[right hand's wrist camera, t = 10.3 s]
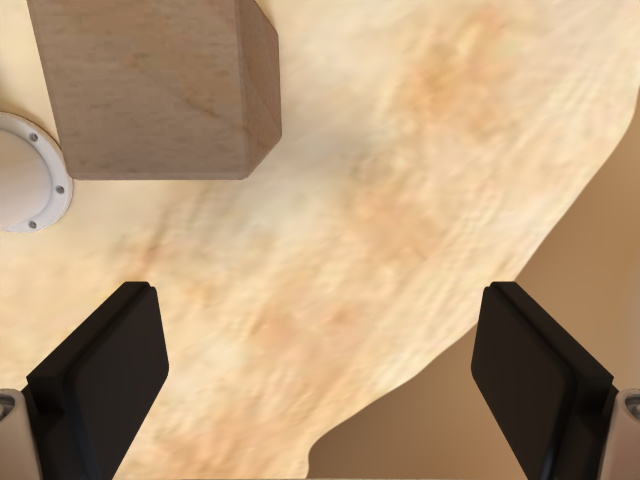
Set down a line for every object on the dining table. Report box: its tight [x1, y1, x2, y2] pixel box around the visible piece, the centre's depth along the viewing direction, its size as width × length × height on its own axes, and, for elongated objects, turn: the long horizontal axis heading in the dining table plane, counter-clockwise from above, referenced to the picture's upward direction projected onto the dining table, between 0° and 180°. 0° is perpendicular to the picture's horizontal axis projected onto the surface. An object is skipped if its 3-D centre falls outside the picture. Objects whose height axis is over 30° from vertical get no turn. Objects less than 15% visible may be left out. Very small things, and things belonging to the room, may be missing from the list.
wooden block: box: [27, 0, 282, 180], centre depth 29 cm, size 10×10×20 cm
